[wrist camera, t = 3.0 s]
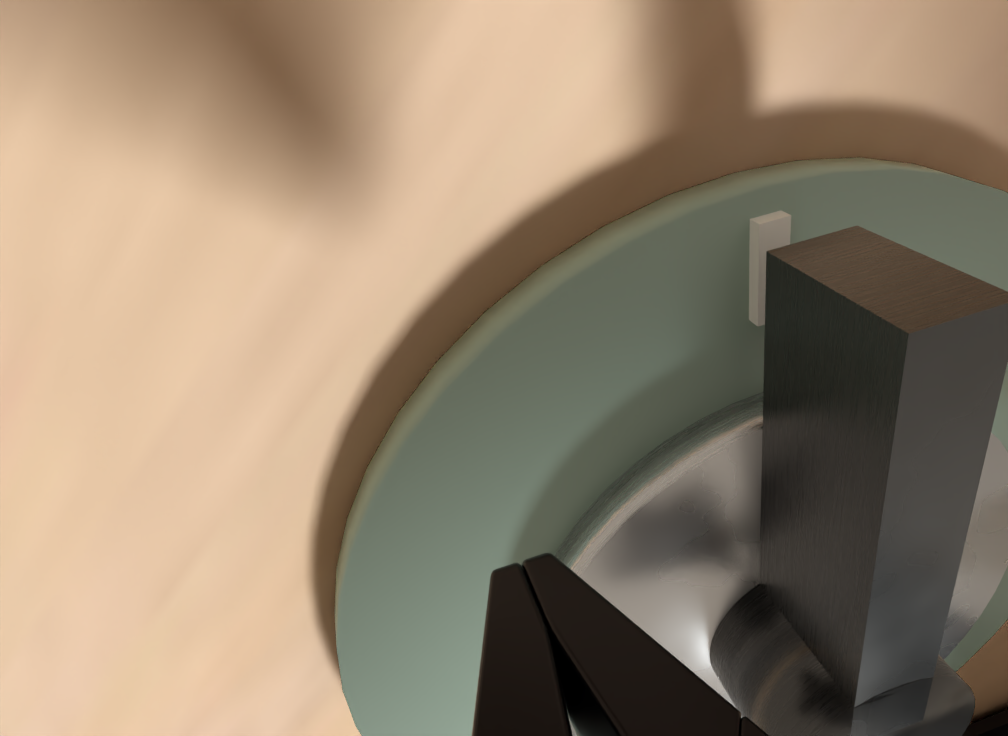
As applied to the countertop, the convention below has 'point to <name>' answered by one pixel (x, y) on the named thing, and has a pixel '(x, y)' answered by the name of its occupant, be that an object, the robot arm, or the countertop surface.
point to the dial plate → (598, 407)
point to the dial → (828, 502)
